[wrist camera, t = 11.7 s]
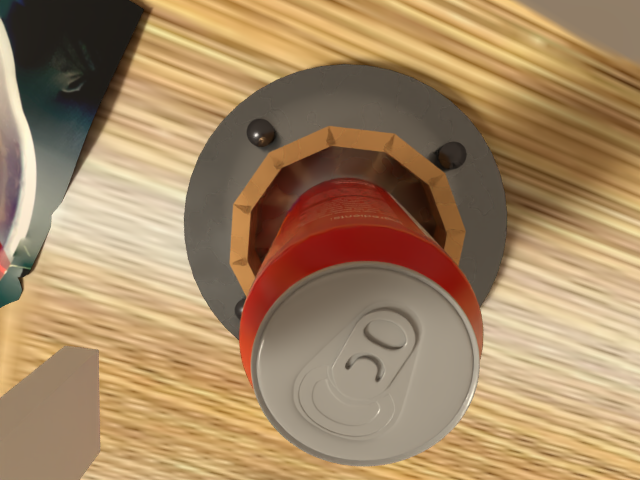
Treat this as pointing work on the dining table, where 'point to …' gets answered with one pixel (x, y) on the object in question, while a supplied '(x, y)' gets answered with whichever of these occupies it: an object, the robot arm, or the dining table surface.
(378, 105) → the bolted flange plate
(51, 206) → the colorful printed placemat
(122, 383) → the dining table surface
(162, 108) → the dining table surface
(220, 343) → the dining table surface
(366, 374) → the soda can
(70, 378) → the robot arm
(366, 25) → the dining table surface
